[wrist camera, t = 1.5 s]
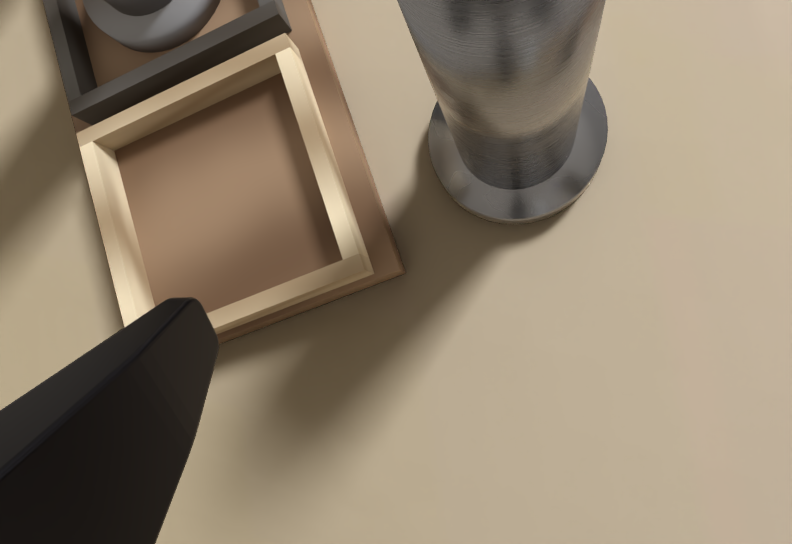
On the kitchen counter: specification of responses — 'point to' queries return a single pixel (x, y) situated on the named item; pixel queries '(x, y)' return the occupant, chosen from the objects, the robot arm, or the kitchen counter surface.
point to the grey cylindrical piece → (511, 102)
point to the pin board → (220, 157)
